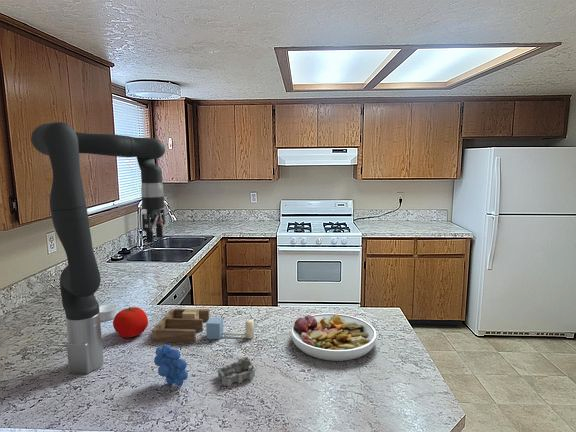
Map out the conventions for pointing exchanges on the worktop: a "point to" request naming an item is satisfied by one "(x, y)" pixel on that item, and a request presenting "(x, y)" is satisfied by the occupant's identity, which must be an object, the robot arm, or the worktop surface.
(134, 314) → the tomato
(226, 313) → the worktop surface
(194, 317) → the plain oak block
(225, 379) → the egg carton
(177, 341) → the lane rack
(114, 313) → the ramekin
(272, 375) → the worktop surface
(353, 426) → the worktop surface
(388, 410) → the worktop surface
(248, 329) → the tethered block
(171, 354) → the grapes
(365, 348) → the bowl
